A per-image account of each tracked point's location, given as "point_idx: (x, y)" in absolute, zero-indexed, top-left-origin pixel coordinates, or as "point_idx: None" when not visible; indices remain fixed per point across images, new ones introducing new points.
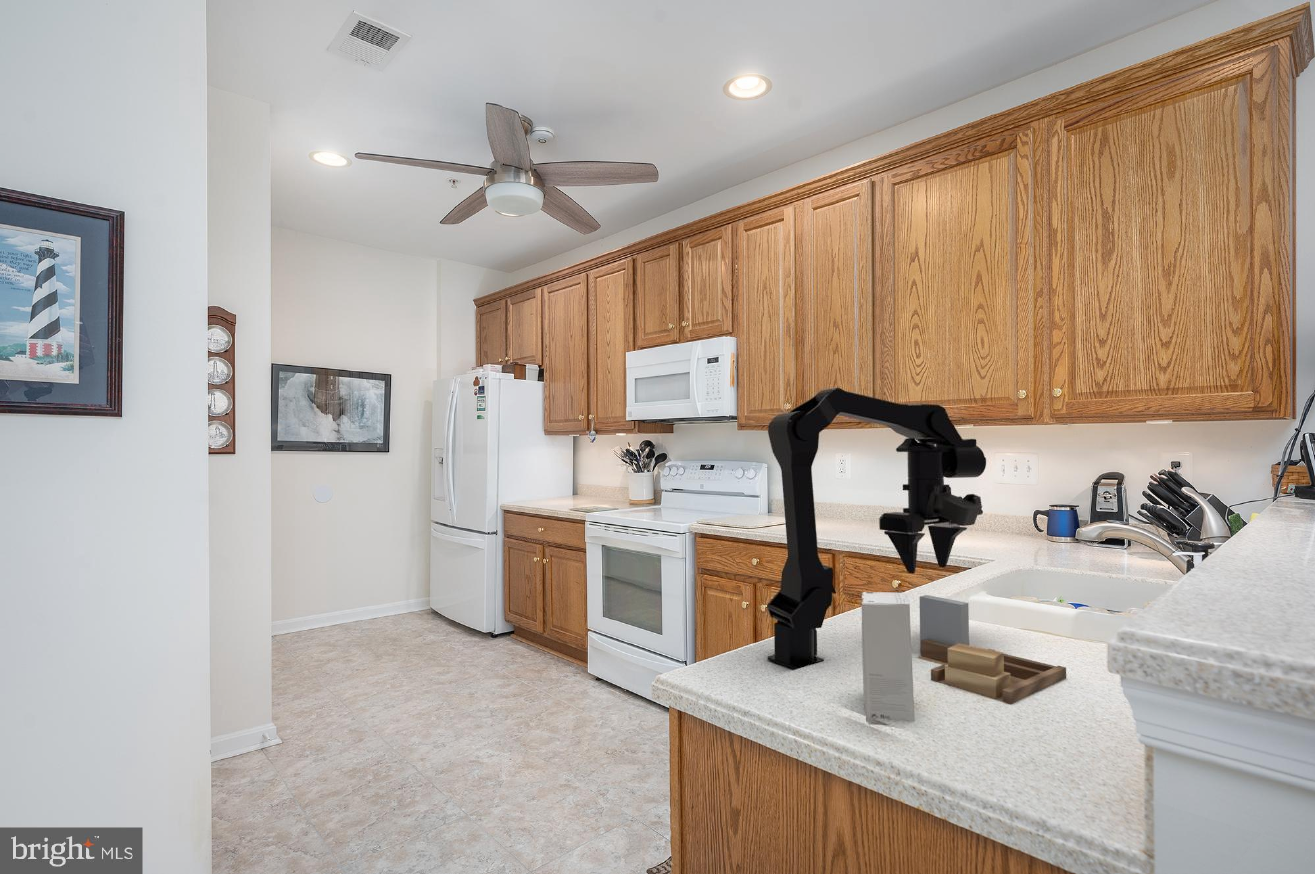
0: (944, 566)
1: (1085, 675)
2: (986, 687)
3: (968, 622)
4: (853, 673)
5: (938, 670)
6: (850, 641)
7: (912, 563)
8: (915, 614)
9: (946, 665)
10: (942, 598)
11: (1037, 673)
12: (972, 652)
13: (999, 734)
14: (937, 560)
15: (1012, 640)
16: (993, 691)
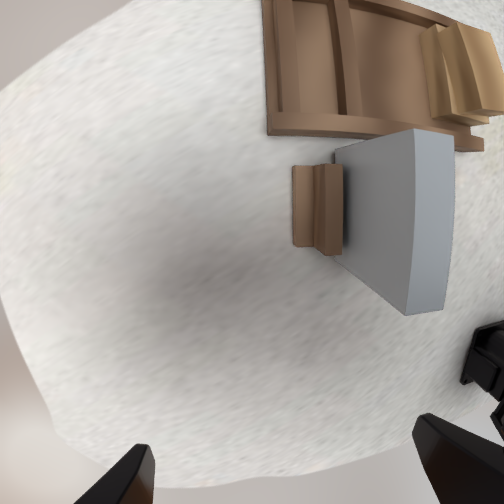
0: (148, 446)
1: (166, 2)
2: None
3: (379, 137)
4: (487, 271)
5: (480, 137)
6: (349, 401)
7: (465, 432)
8: (74, 433)
9: (487, 121)
10: (420, 239)
11: (347, 2)
12: (497, 68)
13: (495, 37)
14: (153, 489)
15: (41, 219)
16: None
